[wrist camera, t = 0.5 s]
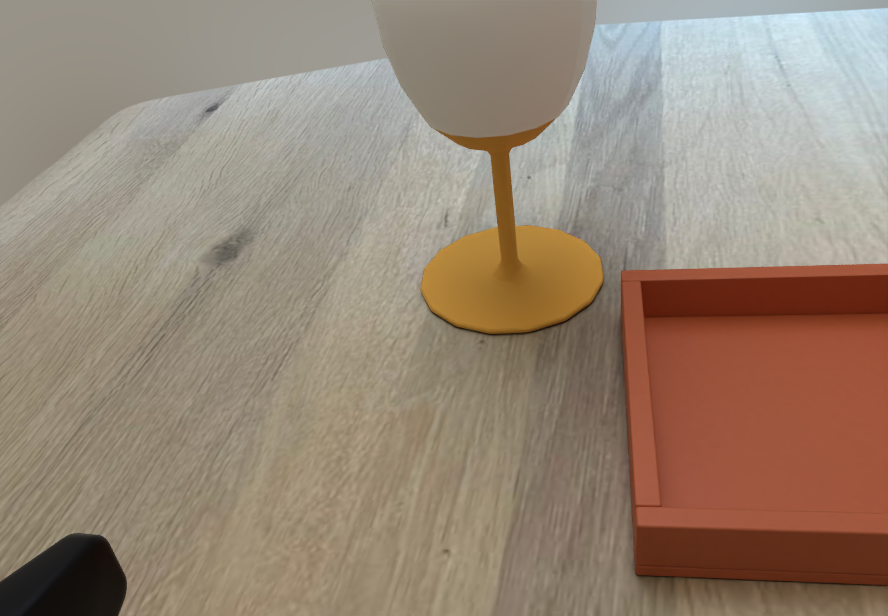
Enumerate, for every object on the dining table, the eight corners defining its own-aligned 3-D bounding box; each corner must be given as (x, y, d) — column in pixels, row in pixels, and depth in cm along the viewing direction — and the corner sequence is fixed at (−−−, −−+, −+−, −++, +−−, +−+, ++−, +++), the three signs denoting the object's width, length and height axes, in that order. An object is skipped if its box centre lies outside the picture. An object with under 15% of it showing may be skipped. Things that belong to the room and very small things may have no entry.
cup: (490, 214, 45) (456, -100, 36) (638, 255, 40) (645, -97, 31) (383, 299, 40) (311, -42, 30) (538, 359, 35) (509, -27, 25)
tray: (1116, 595, 24) (1149, 542, 22) (635, 575, 26) (636, 526, 25) (950, 310, 34) (965, 261, 33) (620, 315, 37) (620, 270, 35)
